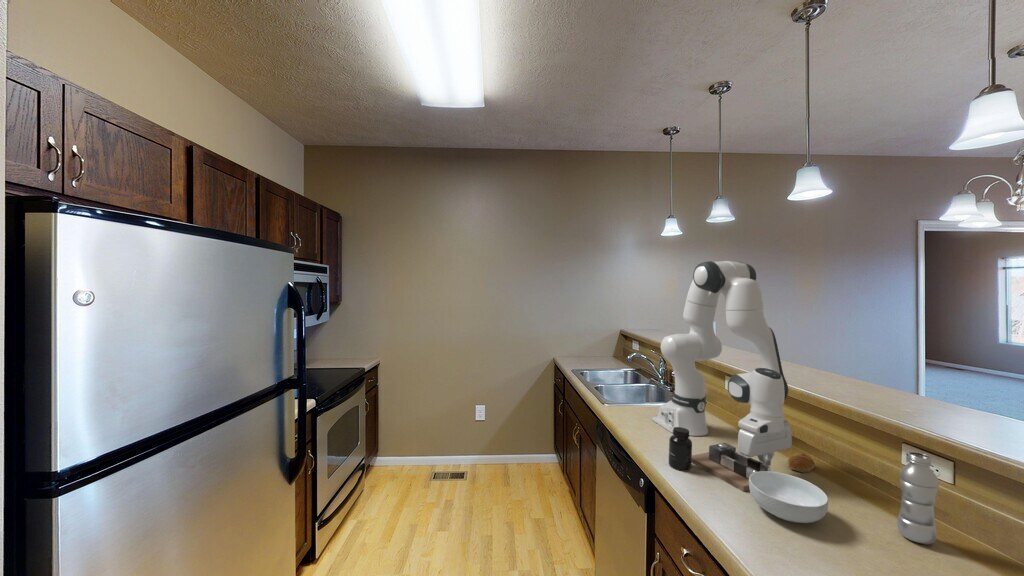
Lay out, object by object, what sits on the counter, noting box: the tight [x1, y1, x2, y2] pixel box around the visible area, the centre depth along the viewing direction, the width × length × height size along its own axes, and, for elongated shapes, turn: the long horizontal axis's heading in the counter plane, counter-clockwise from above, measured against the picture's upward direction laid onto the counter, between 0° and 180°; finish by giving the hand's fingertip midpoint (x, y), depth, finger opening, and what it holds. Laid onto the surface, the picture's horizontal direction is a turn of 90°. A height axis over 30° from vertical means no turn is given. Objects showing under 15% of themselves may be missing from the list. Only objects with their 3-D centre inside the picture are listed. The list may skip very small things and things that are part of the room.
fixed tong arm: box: [721, 455, 757, 479], centre depth 118 cm, size 12×1×3 cm, turn 22°
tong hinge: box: [708, 442, 737, 465], centre depth 127 cm, size 4×7×5 cm, turn 112°
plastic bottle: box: [896, 451, 940, 546], centre depth 91 cm, size 6×7×20 cm
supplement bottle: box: [668, 427, 693, 471], centre depth 125 cm, size 7×7×12 cm
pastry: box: [787, 452, 816, 473], centre depth 126 cm, size 9×7×4 cm
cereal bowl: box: [749, 471, 829, 524], centre depth 100 cm, size 17×17×7 cm
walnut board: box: [691, 451, 750, 492], centre depth 123 cm, size 20×15×2 cm
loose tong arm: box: [734, 451, 772, 472], centre depth 120 cm, size 12×1×3 cm, turn 22°
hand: (764, 465), depth 121 cm, fingers closed
